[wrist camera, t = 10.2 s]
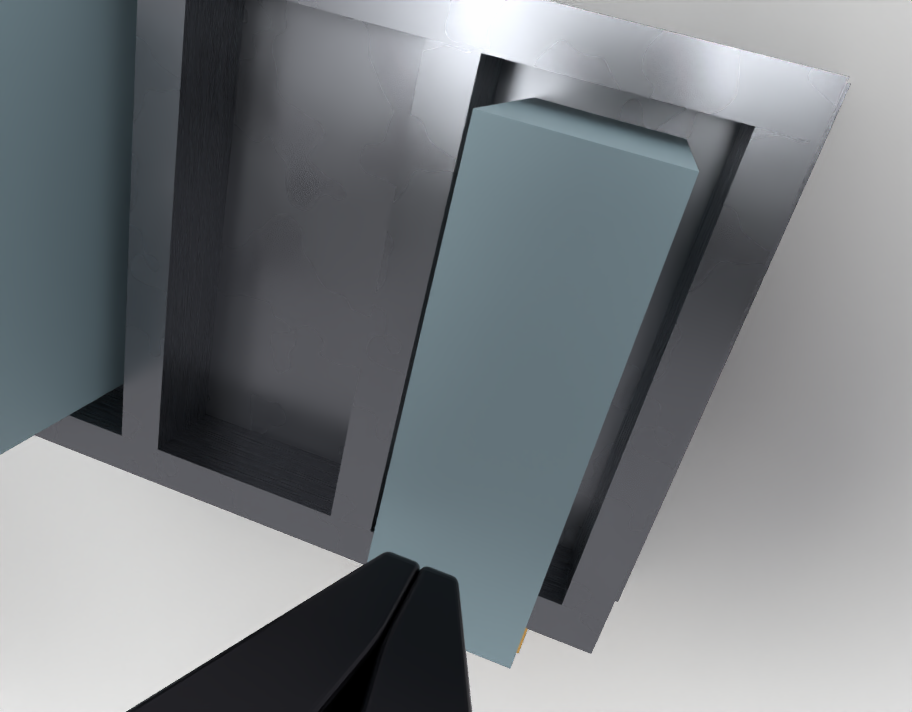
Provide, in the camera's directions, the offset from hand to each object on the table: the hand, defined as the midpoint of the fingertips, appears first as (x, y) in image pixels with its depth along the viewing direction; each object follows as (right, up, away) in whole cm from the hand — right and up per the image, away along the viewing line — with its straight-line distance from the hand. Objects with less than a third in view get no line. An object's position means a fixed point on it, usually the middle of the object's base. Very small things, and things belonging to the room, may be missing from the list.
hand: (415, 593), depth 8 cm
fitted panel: (-8, +7, +9) cm, 14 cm away
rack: (-3, +5, +9) cm, 11 cm away
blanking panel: (+2, +3, +8) cm, 9 cm away
